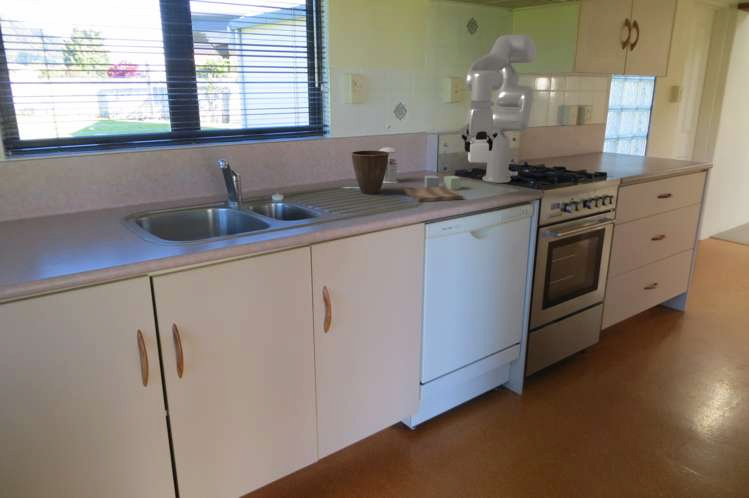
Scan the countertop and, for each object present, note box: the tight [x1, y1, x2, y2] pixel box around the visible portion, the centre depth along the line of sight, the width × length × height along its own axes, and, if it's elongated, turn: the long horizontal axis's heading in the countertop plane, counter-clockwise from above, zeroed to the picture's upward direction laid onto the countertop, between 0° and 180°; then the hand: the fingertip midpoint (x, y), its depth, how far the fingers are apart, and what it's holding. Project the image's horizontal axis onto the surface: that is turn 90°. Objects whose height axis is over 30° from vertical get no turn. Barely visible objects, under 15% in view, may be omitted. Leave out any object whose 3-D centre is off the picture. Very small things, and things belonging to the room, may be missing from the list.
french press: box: [378, 124, 399, 184], centre depth 230 cm, size 10×12×25 cm
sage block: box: [443, 175, 462, 191], centre depth 220 cm, size 5×5×5 cm
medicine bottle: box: [467, 131, 489, 164], centre depth 205 cm, size 7×7×12 cm
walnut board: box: [403, 186, 464, 203], centre depth 207 cm, size 18×18×2 cm
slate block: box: [424, 175, 440, 188], centre depth 220 cm, size 5×5×5 cm
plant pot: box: [351, 150, 390, 195], centre depth 211 cm, size 15×15×16 cm
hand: (478, 150), depth 206 cm, fingers closed on medicine bottle, 8 cm apart
